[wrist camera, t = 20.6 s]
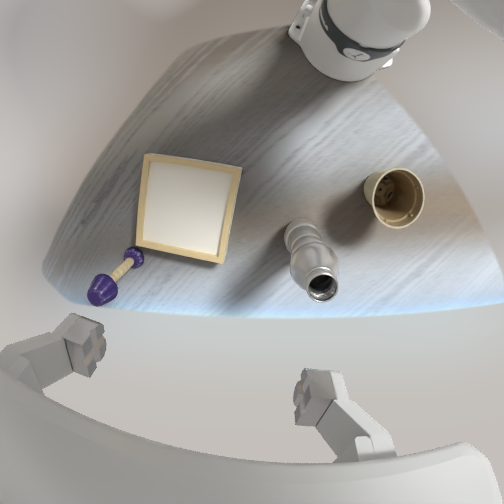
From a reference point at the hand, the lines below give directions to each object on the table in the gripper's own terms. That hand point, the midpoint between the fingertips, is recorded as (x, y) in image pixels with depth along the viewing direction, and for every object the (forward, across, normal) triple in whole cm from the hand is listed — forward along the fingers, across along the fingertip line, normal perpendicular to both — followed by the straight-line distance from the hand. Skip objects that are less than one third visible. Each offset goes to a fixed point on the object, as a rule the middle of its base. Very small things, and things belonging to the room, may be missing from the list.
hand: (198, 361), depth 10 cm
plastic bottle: (+39, -10, +5) cm, 41 cm away
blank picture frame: (+39, +10, +4) cm, 41 cm away
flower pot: (+39, -22, -6) cm, 45 cm away
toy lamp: (+39, +19, +16) cm, 47 cm away
